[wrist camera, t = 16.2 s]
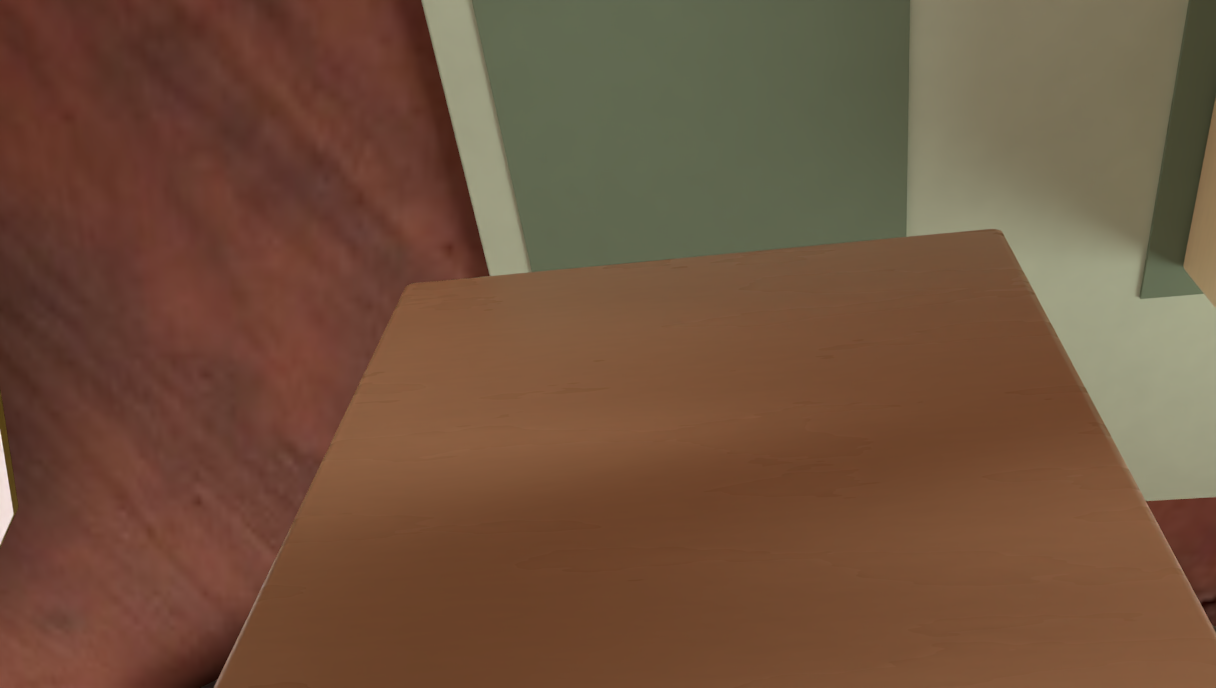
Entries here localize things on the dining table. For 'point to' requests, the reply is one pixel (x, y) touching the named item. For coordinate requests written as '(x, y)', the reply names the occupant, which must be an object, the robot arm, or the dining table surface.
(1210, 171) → the letter h block
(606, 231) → the mat
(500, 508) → the letter i block
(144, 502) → the dining table surface
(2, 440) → the plate
